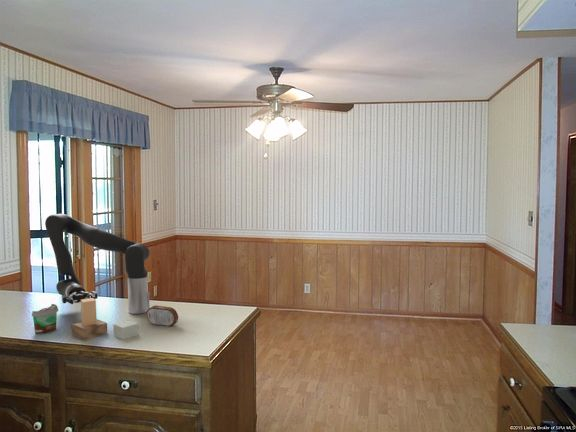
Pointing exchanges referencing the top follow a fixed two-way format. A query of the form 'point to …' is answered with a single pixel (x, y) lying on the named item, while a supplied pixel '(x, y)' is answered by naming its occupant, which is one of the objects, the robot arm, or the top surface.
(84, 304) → the ochre pillar
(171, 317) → the tin
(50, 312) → the food container
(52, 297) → the top surface
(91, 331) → the walnut block
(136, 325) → the grey block
